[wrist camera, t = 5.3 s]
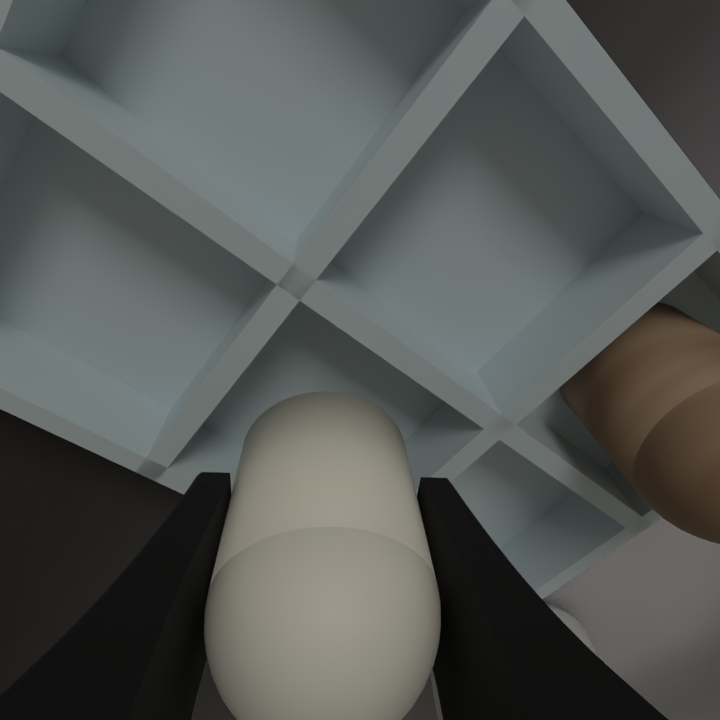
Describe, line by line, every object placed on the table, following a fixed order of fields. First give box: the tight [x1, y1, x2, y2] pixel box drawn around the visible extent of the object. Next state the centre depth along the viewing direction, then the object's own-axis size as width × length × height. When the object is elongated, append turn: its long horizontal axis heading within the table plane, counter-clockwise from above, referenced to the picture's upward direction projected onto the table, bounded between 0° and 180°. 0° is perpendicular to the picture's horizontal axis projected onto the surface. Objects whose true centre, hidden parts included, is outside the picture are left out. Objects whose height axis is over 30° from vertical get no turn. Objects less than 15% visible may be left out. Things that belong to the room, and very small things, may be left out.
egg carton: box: [0, 0, 720, 599], centre depth 12 cm, size 20×14×3 cm
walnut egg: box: [559, 302, 720, 544], centre depth 12 cm, size 4×4×6 cm
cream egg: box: [204, 391, 441, 720], centre depth 9 cm, size 4×4×6 cm
